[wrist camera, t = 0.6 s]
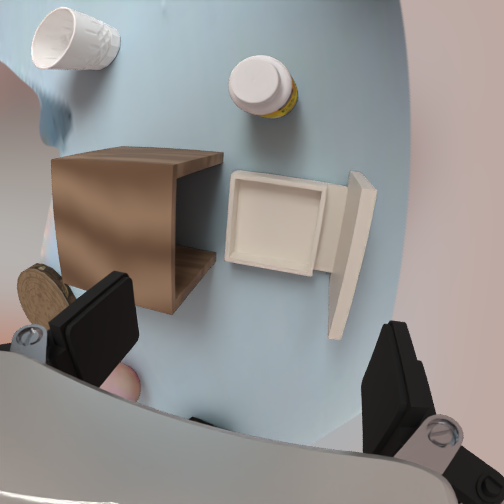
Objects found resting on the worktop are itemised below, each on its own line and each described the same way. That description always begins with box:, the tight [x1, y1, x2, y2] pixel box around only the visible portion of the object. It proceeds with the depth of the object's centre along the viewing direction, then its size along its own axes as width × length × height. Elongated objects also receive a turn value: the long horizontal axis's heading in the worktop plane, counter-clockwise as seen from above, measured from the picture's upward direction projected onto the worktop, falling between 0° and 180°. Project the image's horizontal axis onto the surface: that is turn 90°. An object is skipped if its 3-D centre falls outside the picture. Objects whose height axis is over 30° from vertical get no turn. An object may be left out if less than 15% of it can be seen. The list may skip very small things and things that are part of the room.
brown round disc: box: [17, 263, 76, 331], centre depth 51 cm, size 16×16×3 cm
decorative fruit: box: [100, 362, 141, 402], centre depth 48 cm, size 9×8×10 cm
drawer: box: [224, 170, 377, 340], centre depth 31 cm, size 14×14×11 cm
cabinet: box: [51, 146, 223, 315], centre depth 33 cm, size 14×14×13 cm
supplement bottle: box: [228, 55, 298, 118], centre depth 27 cm, size 6×6×10 cm
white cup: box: [31, 7, 120, 70], centre depth 29 cm, size 8×8×10 cm
